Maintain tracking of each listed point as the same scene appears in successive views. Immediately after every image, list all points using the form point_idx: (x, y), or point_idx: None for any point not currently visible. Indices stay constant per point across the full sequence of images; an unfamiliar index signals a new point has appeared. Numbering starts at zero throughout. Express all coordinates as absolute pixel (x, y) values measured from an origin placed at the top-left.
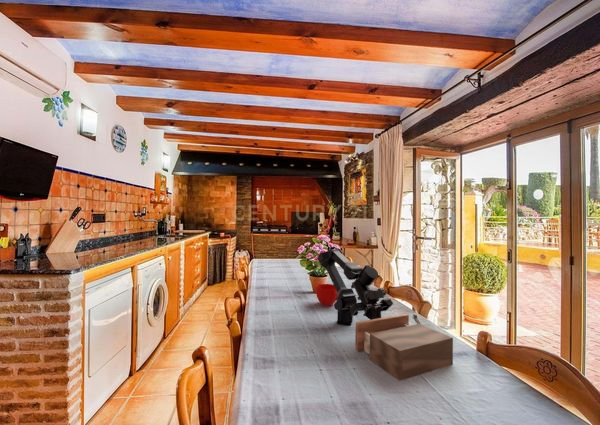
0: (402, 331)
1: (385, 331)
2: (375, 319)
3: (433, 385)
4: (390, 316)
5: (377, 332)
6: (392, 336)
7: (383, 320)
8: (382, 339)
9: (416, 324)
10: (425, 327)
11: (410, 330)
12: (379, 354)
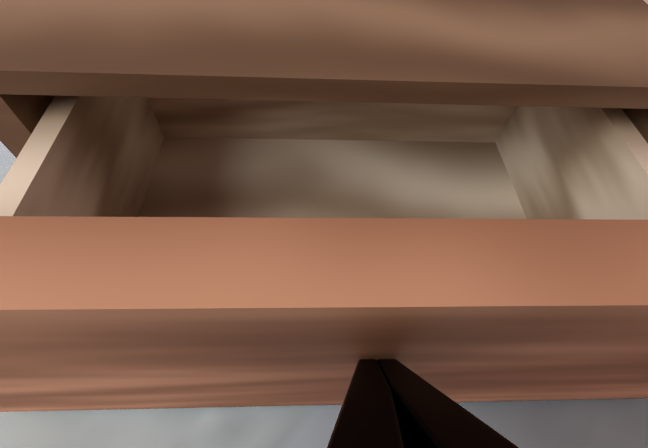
0: (351, 24)
1: (535, 69)
2: (626, 276)
3: None
4: (119, 301)
5: (640, 80)
6: (515, 4)
7: (424, 233)
8: (628, 3)
9: (2, 69)
10: (29, 6)
11: (252, 15)
12: None
